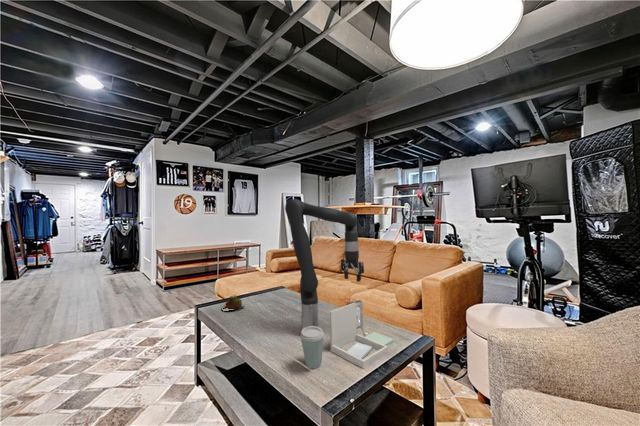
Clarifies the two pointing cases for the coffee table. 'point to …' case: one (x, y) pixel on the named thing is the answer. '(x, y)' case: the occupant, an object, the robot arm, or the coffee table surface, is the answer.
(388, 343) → the mat
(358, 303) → the disk drive
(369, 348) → the hard drive
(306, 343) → the disposable coffee cup
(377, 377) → the coffee table surface
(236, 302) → the cactus
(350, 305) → the case
